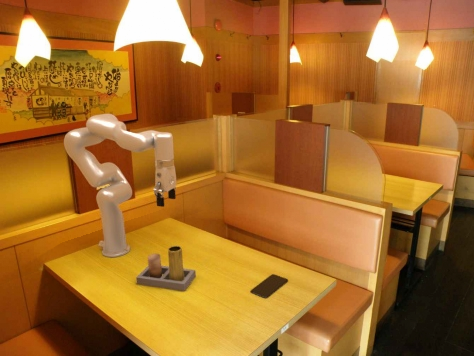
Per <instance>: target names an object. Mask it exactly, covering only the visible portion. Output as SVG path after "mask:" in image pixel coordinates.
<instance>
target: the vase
mask: <svg viewBox="0 0 474 356" xmlns="http://www.w3.org/2000/svg"><path fill="white" fill-rule="evenodd" d="M182 249H183V248H182V246H180V245H172V246H170V247H168V248H167V251H168V253H167V254H168V267H169V278H170V279H169V280H174V281H181V282H182V281H183V280H184V279H185V278H184V270H183V269H184V264H183V263H184V262H183V250H182Z"/></svg>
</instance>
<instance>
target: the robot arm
mask: <svg viewBox="0 0 474 356" xmlns="http://www.w3.org/2000/svg"><path fill="white" fill-rule="evenodd" d="M85 126H86V127H80V128H75V129H72V130H69V131H68V132H67V133H66V134H65V136H64V139H63V145H64V146H63V147H64V149H65V152H66V153H67V155H68V156H69V157H70V159H71V160H72V161H73V162H74V163H75V164H76V166H77V167H78V168H79V170H80V172H81V173H82V175H83V177H84V178H85V179H86V181H87V182H88V184H89V185H90V186H91V187H93V188H100V187H103V186H105V185H108V184H109V185H108V186H105V187H103V188H101V189H99V191H98V192H97V194H96V196H95V197H96V198H95V200H96V203H97V206H98V208H99V214H100V219H101V226H102V235H103V240H99V242H98V247H101V248H102V251H101V252H102V253H101V254H102V255H103V256H104V257H107V258H116V257H122V256H124V255H127V254H128V253H129V252H130V251H131V246H130V245H129V244H127V239H126V232H125V231H126V229H125V221H124V215H123V214H124V213H123V211H122V210H121V208H120V206H119V205H120V204H122V203H124V202H125V203H126V201H128V200H129V199H131V198H132V195H133V189H132V187H131V185H130V183H129V182H128V180H127V179H126V177H125V175H124V174H123V172H122V171H121V169H120V167H119V166H117V165H116V164H115V163H113V162H104V163H100V162H99V161H98V159H97V158H96V156H95V155H94V154H93V153H92V152H91V151H89V150H88V149H86V147H90V146H95V145H98V144H100V143H101V142H103V141H104V140H106V139H108V140H111V141H114V142H115V143H116V144H117V145H118V146H119V147H120V148H121V149H125V150H128V151H130V152H134V153H143V152H146V151H148V150H153V149H154V165H155V166H154V167H155V176H154V177H155V179H154V180H155V187H154V188H153V193H154V196H155V198H156V207H161V208H164V207H165V197H164V195H165V193H167V195H168V196H167V197H168V199H171V200H175V199H176V197H177V196H176V189H177V188H176V187H177V174H176V167H175V160H174V159H175V157H174V154H175V153H174V138H173V134H172V133H171V132H167V131H166V132H164V131H157V130H153V129H152V130H151V129H150V130H145V131H140V132H136V133H135V132H133V131H132V132H131V131H128V130H127V126H126V124H125V122H123V121H119V119H118V118H117V116H115V115H114V114H111V113H103V114H101V113H100V114H95V115H92V116H90V117H89V118H88V119H87V121H86V123H85Z"/></svg>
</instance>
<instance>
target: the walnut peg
mask: <svg viewBox="0 0 474 356" xmlns="http://www.w3.org/2000/svg"><path fill="white" fill-rule="evenodd" d="M147 265H148V266H147V267H149V276H148V277H153V278H161V277H162V276H163V274H162V268H161V266H162V258H161V254H159V253H151V254H149V255H148V256H147Z"/></svg>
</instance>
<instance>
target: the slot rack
mask: <svg viewBox="0 0 474 356" xmlns="http://www.w3.org/2000/svg"><path fill="white" fill-rule="evenodd" d="M161 268H162V277H161V278H153V277H149V267H148V266H146V267H145V268H144V269H143V270H142V271H140V273H139V274H138V275H136V277H135V278H136V285H140V286H147V287H154V288H161V289H167V290H175V291H181V292H185V291H186V290H187V289H188V287H189V286H190V285H191V284H192V282H193V281H194V280H195V278H196V274H197V273H196V269H190V268H189V269H188V268H183V270H184V278H185V279H184V280H183V281H182V282H181V281H174V280H170V278H169V265H168V266H166V265H161Z"/></svg>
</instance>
